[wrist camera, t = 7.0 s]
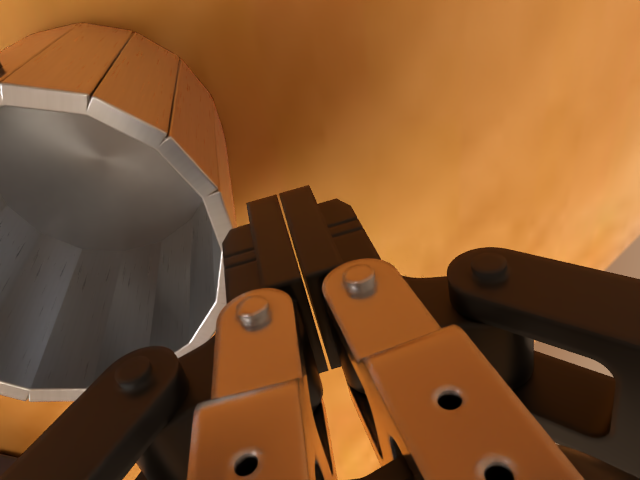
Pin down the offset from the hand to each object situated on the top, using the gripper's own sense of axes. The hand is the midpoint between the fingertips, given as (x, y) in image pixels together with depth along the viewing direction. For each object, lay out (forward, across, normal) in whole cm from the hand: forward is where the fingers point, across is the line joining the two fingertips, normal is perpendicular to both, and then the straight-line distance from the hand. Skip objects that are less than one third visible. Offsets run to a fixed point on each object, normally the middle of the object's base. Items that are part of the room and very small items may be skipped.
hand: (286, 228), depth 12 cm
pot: (+6, +1, 0) cm, 6 cm away
